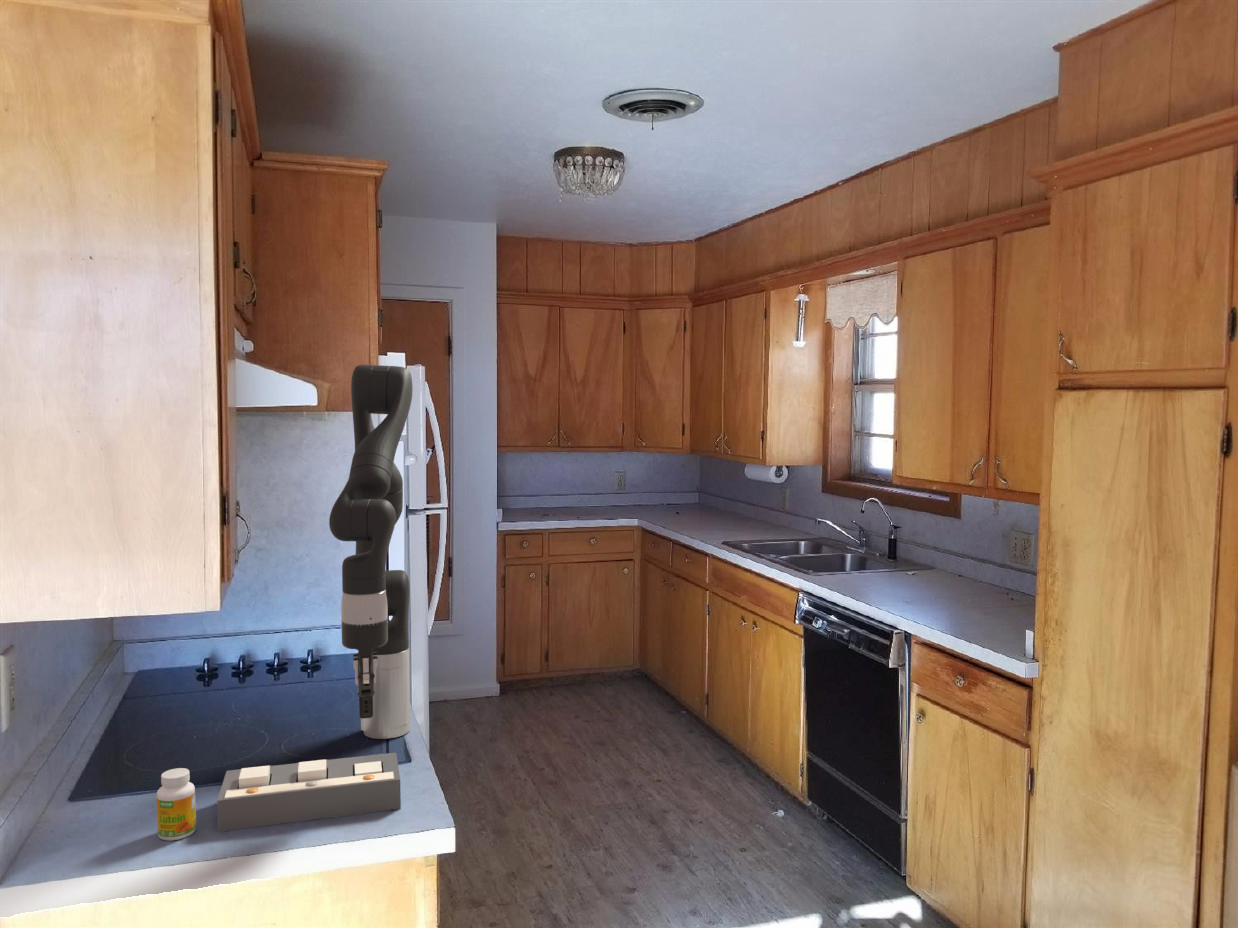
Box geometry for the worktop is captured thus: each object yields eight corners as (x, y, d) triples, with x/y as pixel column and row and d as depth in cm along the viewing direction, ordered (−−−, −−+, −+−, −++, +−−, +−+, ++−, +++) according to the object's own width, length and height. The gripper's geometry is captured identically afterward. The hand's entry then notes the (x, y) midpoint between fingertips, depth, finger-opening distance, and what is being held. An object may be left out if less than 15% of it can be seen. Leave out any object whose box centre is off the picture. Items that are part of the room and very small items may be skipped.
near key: (239, 795, 147) (238, 779, 147) (242, 784, 151) (241, 768, 151) (268, 792, 148) (267, 775, 148) (270, 781, 152) (269, 765, 152)
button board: (218, 831, 143) (217, 798, 142) (227, 799, 154) (226, 768, 154) (400, 808, 151) (400, 777, 150) (396, 779, 162) (396, 750, 162)
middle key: (298, 789, 149) (297, 772, 149) (299, 778, 154) (298, 762, 153) (326, 785, 151) (325, 769, 150) (326, 775, 155) (326, 759, 155)
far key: (355, 790, 152) (354, 774, 152) (354, 779, 156) (354, 764, 156) (382, 787, 153) (382, 771, 153) (381, 776, 158) (381, 761, 157)
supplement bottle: (154, 843, 139) (152, 781, 138) (162, 827, 144) (160, 768, 143) (192, 839, 140) (190, 778, 139) (198, 823, 145) (197, 764, 145)
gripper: (389, 625, 147) (390, 728, 149) (386, 606, 160) (387, 701, 162) (341, 628, 145) (343, 733, 147) (341, 608, 158) (343, 705, 159)
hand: (366, 716), depth 154 cm, fingers closed
